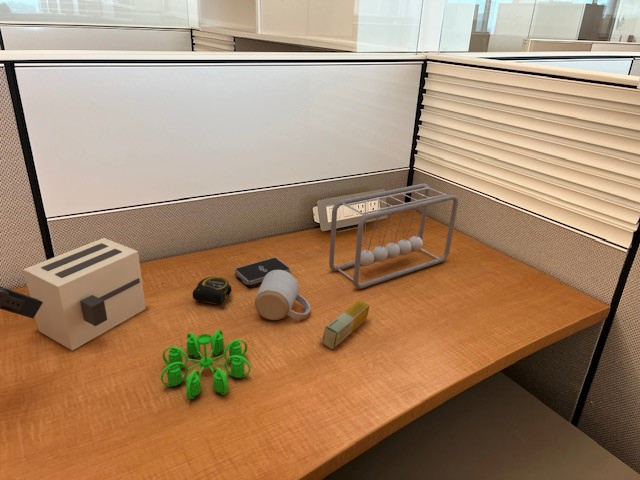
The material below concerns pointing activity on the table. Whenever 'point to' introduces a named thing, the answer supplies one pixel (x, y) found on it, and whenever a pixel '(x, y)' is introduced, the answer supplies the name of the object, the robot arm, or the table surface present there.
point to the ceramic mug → (279, 296)
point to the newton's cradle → (391, 248)
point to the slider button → (93, 310)
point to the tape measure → (212, 290)
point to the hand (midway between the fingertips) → (35, 308)
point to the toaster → (85, 290)
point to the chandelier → (205, 363)
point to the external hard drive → (259, 271)
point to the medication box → (345, 324)
